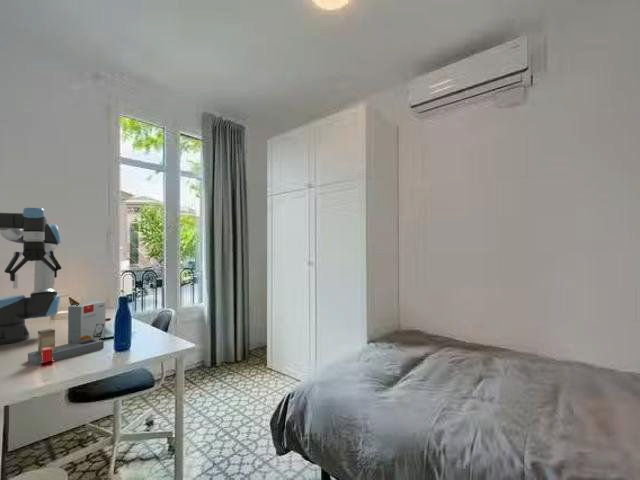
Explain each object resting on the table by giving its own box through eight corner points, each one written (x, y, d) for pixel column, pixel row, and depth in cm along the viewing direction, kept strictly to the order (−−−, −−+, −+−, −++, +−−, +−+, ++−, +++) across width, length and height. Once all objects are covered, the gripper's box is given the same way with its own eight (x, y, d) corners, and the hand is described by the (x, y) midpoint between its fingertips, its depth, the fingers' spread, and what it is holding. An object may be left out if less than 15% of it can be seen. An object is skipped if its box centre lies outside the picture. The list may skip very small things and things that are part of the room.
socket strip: (27, 361, 144) (27, 352, 144) (93, 344, 166) (93, 337, 166) (36, 365, 138) (36, 356, 138) (103, 348, 160) (103, 340, 160)
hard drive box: (79, 346, 163) (79, 306, 163) (67, 345, 164) (66, 306, 164) (106, 337, 178) (105, 301, 178) (94, 336, 180) (94, 300, 180)
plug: (38, 360, 144) (37, 331, 144) (50, 357, 148) (50, 328, 148) (42, 362, 142) (42, 332, 142) (55, 358, 146) (55, 329, 146)
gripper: (0, 241, 139) (1, 290, 139) (69, 240, 161) (69, 283, 161) (-6, 241, 143) (-5, 289, 143) (62, 240, 165) (63, 282, 165)
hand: (34, 286), depth 152 cm, fingers open, 13 cm apart
